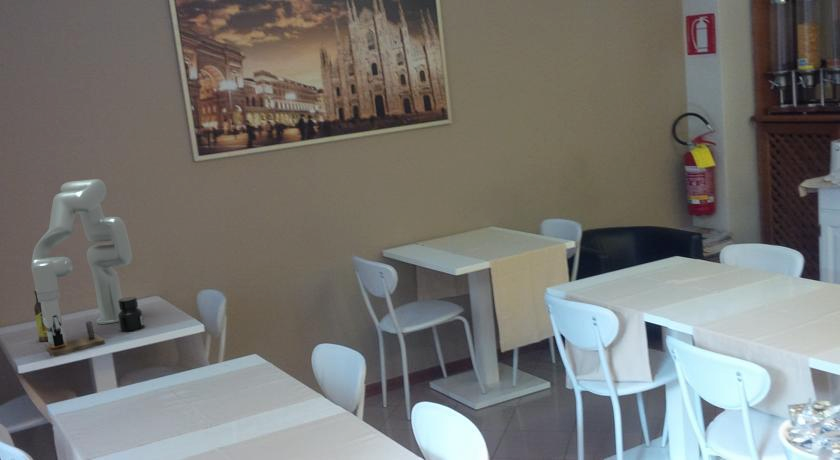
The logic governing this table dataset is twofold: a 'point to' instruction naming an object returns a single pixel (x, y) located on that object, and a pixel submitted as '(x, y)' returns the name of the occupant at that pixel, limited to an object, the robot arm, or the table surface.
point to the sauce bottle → (40, 321)
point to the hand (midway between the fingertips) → (57, 343)
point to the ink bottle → (130, 315)
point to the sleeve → (50, 337)
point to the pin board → (78, 343)
